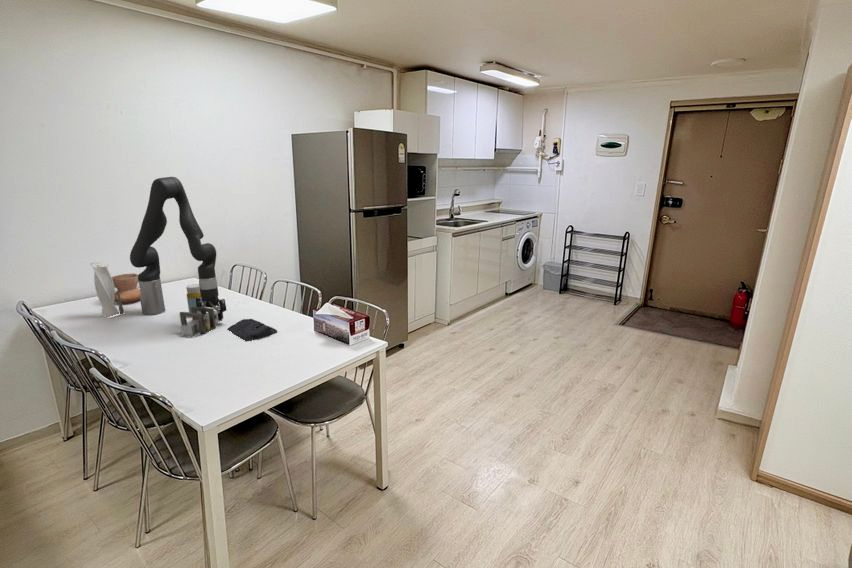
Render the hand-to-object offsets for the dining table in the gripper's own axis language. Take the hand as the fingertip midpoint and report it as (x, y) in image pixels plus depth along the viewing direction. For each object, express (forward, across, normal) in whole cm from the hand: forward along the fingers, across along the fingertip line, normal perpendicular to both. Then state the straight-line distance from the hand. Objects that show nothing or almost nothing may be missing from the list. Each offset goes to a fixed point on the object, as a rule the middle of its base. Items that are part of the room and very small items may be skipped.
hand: (212, 319), depth 208 cm
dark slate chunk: (+3, +24, -5) cm, 24 cm away
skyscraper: (+3, -55, -3) cm, 55 cm away
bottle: (+2, -15, +8) cm, 17 cm away
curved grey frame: (+2, 0, -10) cm, 10 cm away
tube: (+2, 0, -7) cm, 7 cm away
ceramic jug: (+2, -65, +17) cm, 67 cm away
